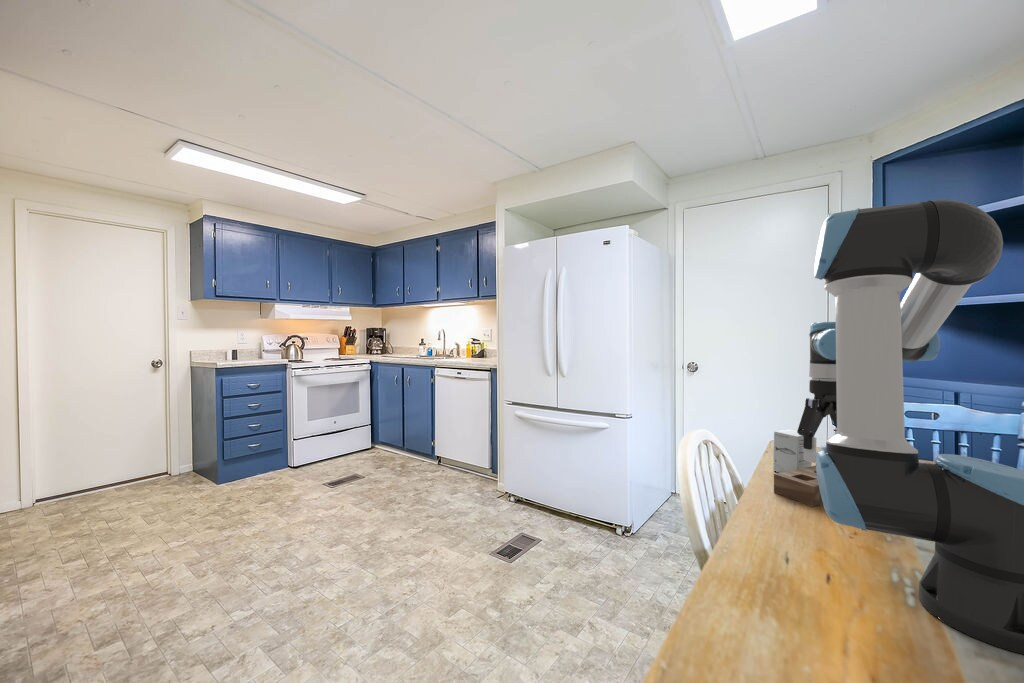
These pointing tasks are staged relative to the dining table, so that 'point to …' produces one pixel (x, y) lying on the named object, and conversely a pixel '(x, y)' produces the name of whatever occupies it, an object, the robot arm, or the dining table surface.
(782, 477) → the hole block
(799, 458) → the supplement box
